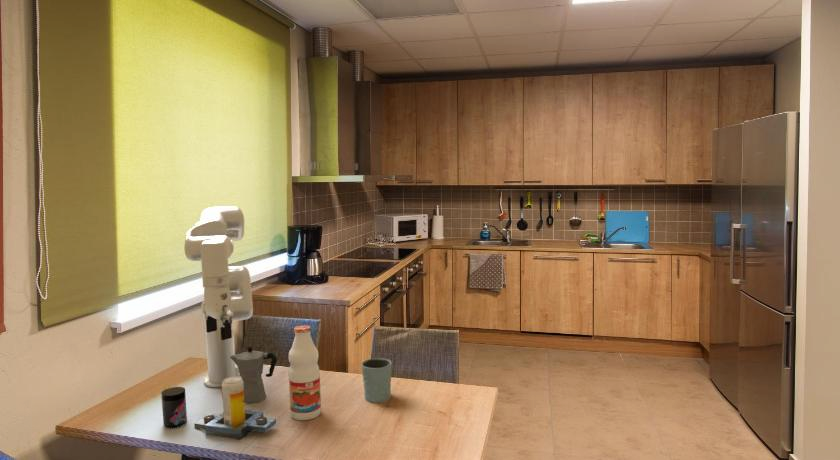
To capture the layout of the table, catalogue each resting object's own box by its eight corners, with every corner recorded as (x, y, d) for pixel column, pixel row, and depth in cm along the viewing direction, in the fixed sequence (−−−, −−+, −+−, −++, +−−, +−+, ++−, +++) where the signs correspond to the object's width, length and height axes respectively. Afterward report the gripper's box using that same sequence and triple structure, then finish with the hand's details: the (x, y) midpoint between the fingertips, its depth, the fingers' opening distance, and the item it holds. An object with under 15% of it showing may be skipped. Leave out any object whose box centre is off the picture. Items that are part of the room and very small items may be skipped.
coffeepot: (228, 404, 186) (225, 351, 184) (236, 393, 196) (233, 342, 194) (275, 403, 187) (273, 350, 185) (281, 392, 196) (279, 341, 194)
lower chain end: (187, 432, 167) (187, 424, 167) (213, 415, 179) (212, 408, 178) (241, 439, 162) (240, 431, 162) (264, 421, 174) (263, 414, 173)
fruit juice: (317, 405, 184) (314, 321, 181) (324, 417, 176) (321, 329, 173) (288, 411, 181) (284, 325, 178) (293, 423, 172) (289, 333, 169)
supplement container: (165, 431, 168) (163, 397, 167) (161, 422, 174) (159, 390, 173) (189, 425, 172) (187, 392, 171) (184, 417, 178) (182, 385, 177)
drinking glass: (374, 406, 183) (373, 370, 182) (356, 397, 191) (355, 362, 190) (398, 397, 190) (397, 362, 189) (380, 389, 198) (379, 355, 196)
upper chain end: (205, 430, 165) (204, 422, 165) (229, 412, 177) (229, 405, 177) (259, 437, 160) (259, 429, 160) (281, 419, 172) (281, 411, 172)
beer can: (249, 424, 172) (247, 377, 170) (237, 433, 166) (234, 384, 164) (233, 422, 174) (230, 374, 172) (219, 431, 168) (217, 382, 166)
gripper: (241, 283, 169) (244, 339, 171) (214, 274, 181) (217, 326, 183) (217, 288, 163) (220, 345, 166) (191, 278, 176) (195, 331, 178)
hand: (219, 335), depth 175 cm, fingers open, 9 cm apart
